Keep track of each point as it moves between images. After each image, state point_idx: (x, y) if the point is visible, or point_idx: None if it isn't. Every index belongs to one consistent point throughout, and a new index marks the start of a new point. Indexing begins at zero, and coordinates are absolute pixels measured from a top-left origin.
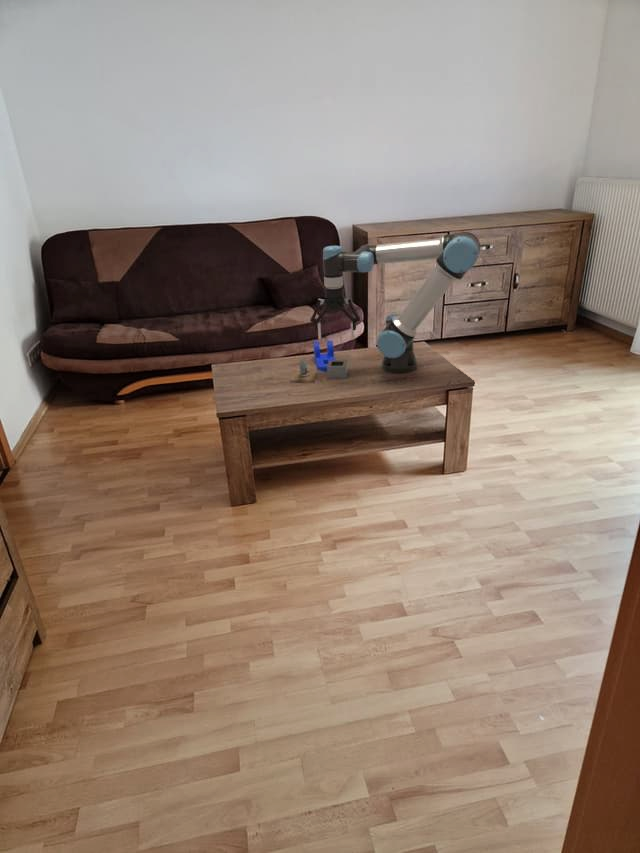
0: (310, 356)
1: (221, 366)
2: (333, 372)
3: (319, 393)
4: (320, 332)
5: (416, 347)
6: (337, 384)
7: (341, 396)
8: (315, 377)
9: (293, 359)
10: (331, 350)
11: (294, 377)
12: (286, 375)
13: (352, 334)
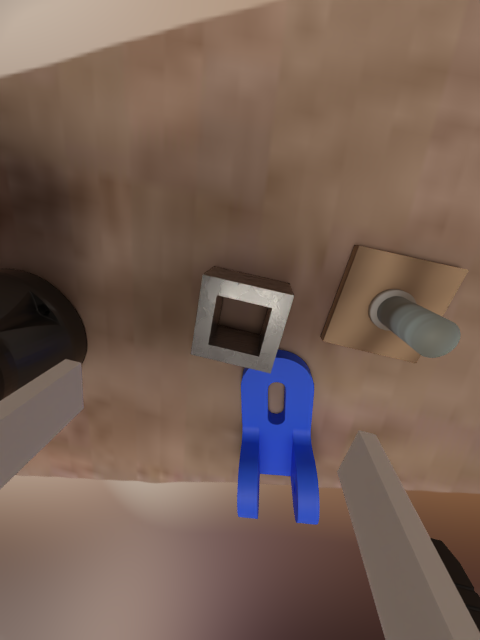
0: None
1: None
2: (263, 282)
3: (360, 91)
4: (367, 508)
5: None
6: (257, 201)
7: (256, 20)
8: (340, 289)
9: None
10: (248, 459)
11: (439, 294)
12: None
13: (32, 383)
